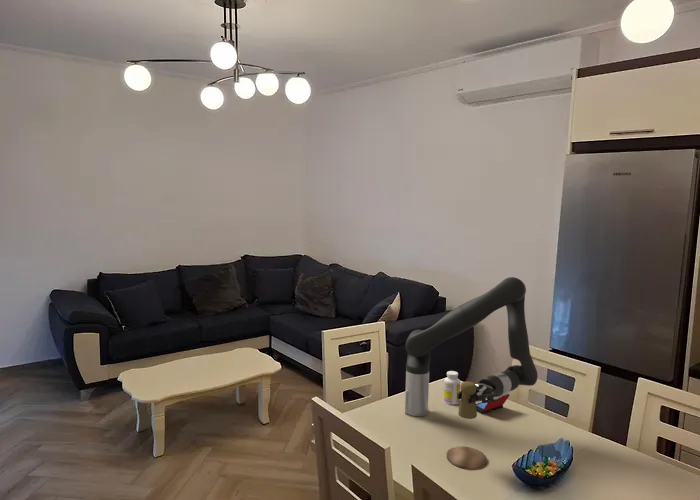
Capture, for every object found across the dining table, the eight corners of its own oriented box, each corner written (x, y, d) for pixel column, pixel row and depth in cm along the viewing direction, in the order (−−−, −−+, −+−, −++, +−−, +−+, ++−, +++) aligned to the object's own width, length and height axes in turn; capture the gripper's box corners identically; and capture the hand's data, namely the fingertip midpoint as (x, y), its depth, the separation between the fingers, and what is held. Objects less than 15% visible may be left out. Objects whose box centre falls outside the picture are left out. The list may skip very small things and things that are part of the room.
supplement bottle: (457, 398, 214) (458, 369, 213) (461, 405, 207) (462, 375, 206) (441, 398, 214) (442, 370, 212) (445, 405, 207) (446, 375, 206)
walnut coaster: (448, 467, 159) (448, 465, 159) (445, 447, 172) (445, 445, 172) (489, 470, 158) (489, 468, 158) (483, 450, 171) (483, 447, 171)
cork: (477, 419, 160) (478, 387, 159) (458, 417, 161) (459, 385, 160) (476, 411, 166) (477, 380, 165) (458, 410, 167) (459, 378, 166)
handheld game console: (489, 401, 212) (490, 385, 211) (509, 411, 203) (510, 393, 202) (468, 408, 205) (469, 391, 204) (489, 418, 196) (489, 400, 195)
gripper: (478, 369, 176) (446, 380, 166) (513, 381, 165) (481, 394, 155) (478, 389, 177) (446, 402, 167) (512, 403, 166) (480, 417, 156)
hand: (463, 398), depth 161 cm, fingers closed on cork, 3 cm apart
